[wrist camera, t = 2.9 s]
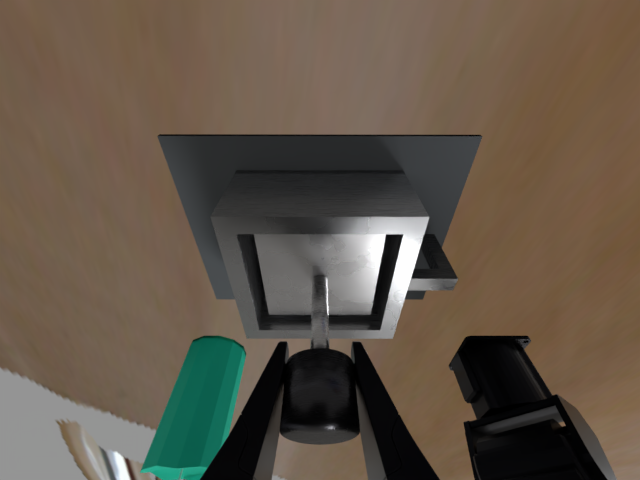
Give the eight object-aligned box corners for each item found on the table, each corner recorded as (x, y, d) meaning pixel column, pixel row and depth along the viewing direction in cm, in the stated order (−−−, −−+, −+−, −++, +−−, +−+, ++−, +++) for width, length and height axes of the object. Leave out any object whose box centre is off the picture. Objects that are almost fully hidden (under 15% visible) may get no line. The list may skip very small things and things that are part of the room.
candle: (188, 331, 27) (120, 492, 18) (248, 339, 28) (214, 496, 19) (190, 360, 31) (135, 507, 22) (244, 366, 32) (213, 509, 23)
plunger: (383, 227, 15) (434, 392, 8) (369, 307, 19) (395, 457, 12) (256, 227, 15) (204, 392, 8) (270, 307, 19) (244, 458, 12)
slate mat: (480, 134, 15) (482, 136, 15) (421, 296, 24) (422, 299, 24) (159, 134, 15) (157, 136, 15) (217, 296, 24) (216, 299, 24)
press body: (451, 170, 16) (492, 217, 13) (415, 284, 23) (435, 338, 19) (236, 170, 16) (210, 216, 13) (259, 283, 23) (246, 338, 19)
